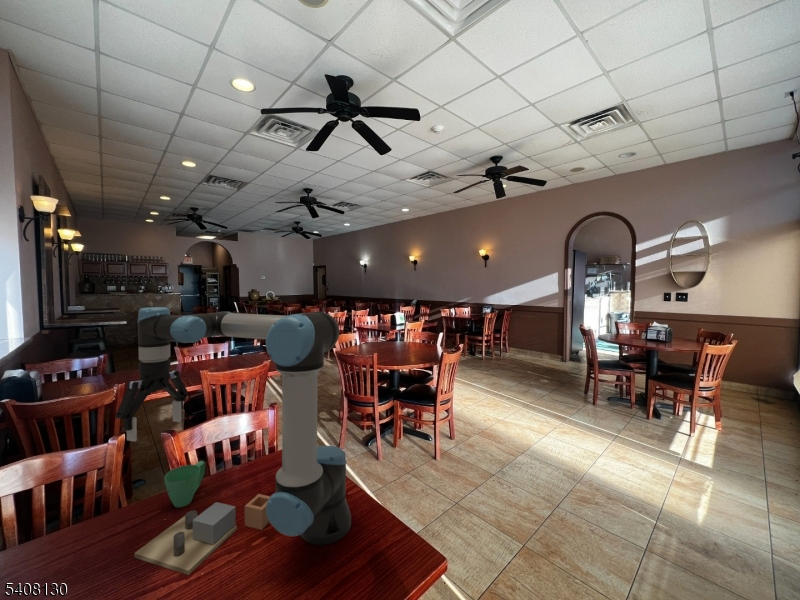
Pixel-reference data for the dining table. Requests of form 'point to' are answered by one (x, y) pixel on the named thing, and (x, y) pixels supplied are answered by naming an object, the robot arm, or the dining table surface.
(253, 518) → the orange open-topped box
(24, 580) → the dining table surface
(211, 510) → the cover
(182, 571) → the housing board
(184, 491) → the green rounded tapered part
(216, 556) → the dining table surface
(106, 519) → the dining table surface
